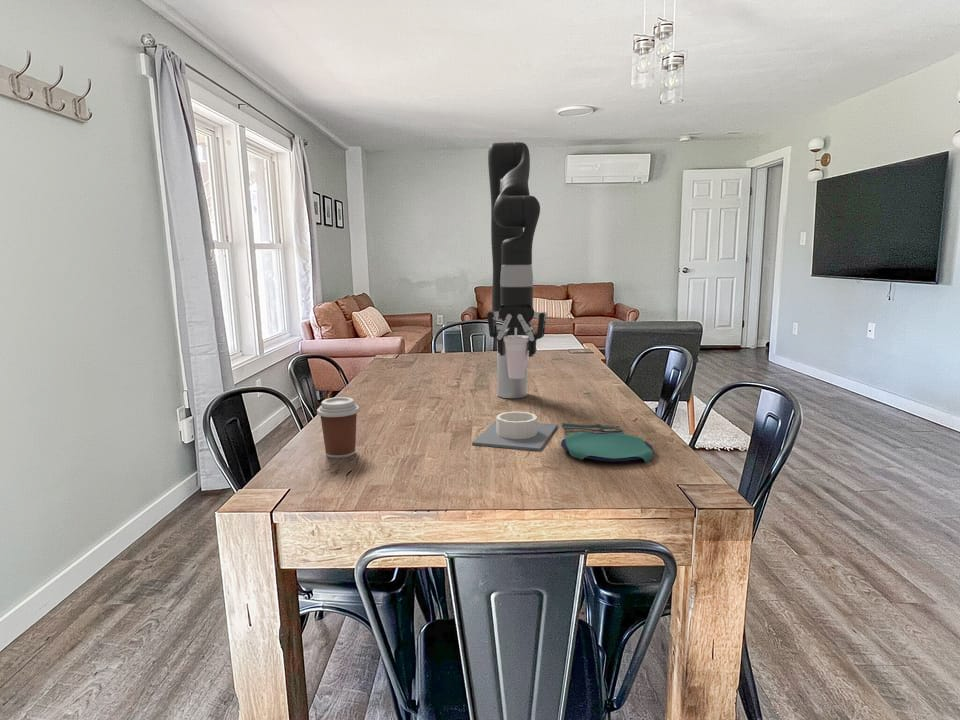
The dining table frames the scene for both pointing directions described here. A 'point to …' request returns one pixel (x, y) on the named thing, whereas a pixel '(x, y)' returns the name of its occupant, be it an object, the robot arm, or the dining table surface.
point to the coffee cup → (339, 426)
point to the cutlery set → (604, 444)
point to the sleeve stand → (516, 432)
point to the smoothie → (516, 354)
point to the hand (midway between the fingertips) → (516, 355)
